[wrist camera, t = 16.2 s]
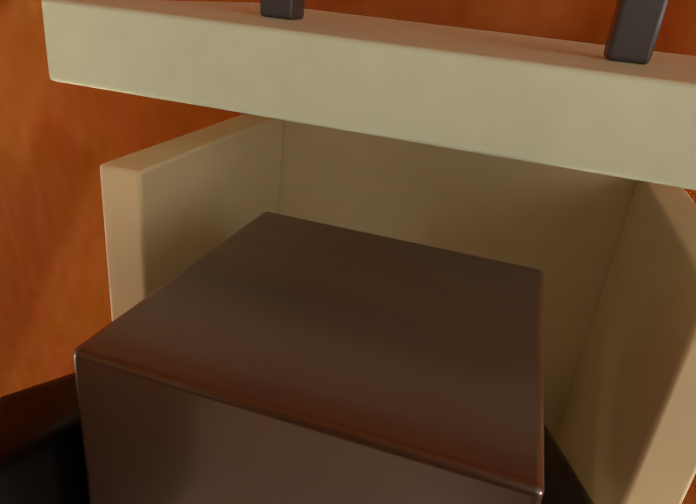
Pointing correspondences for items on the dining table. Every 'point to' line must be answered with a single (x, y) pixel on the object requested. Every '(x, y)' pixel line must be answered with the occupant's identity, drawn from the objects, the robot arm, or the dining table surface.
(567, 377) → the drawer
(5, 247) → the dining table surface
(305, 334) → the block
